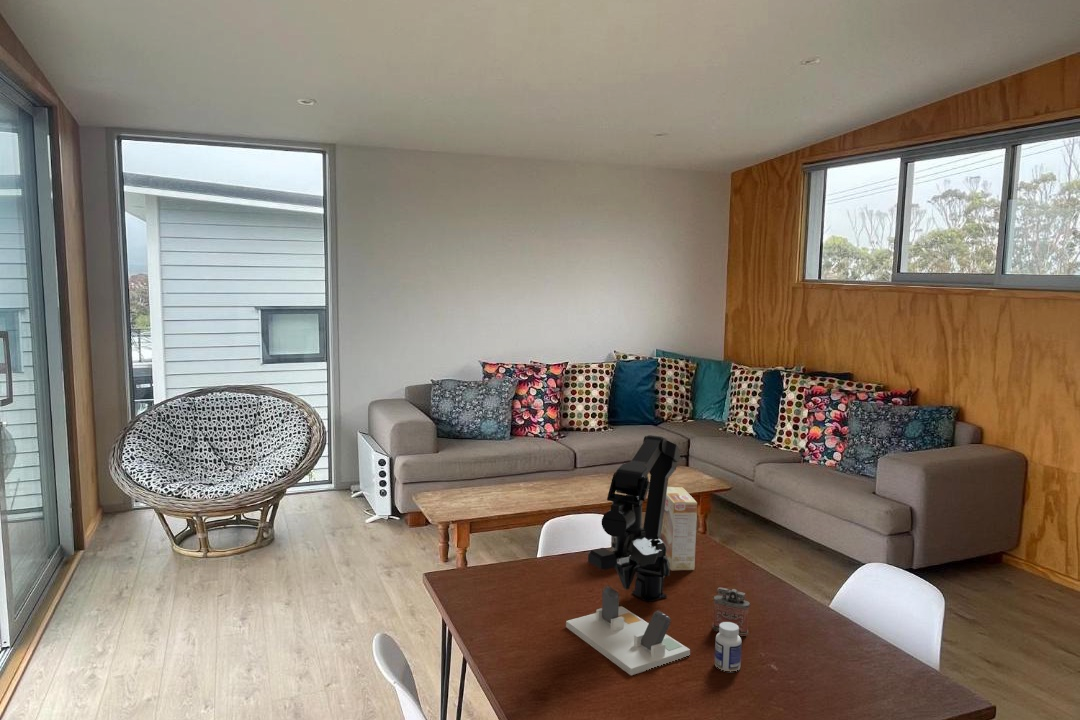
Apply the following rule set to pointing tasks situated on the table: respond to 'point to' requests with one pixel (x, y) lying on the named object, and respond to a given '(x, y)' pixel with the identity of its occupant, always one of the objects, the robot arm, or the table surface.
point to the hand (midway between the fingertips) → (626, 588)
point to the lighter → (731, 609)
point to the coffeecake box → (679, 528)
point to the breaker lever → (610, 604)
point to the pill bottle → (728, 647)
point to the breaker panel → (630, 639)
